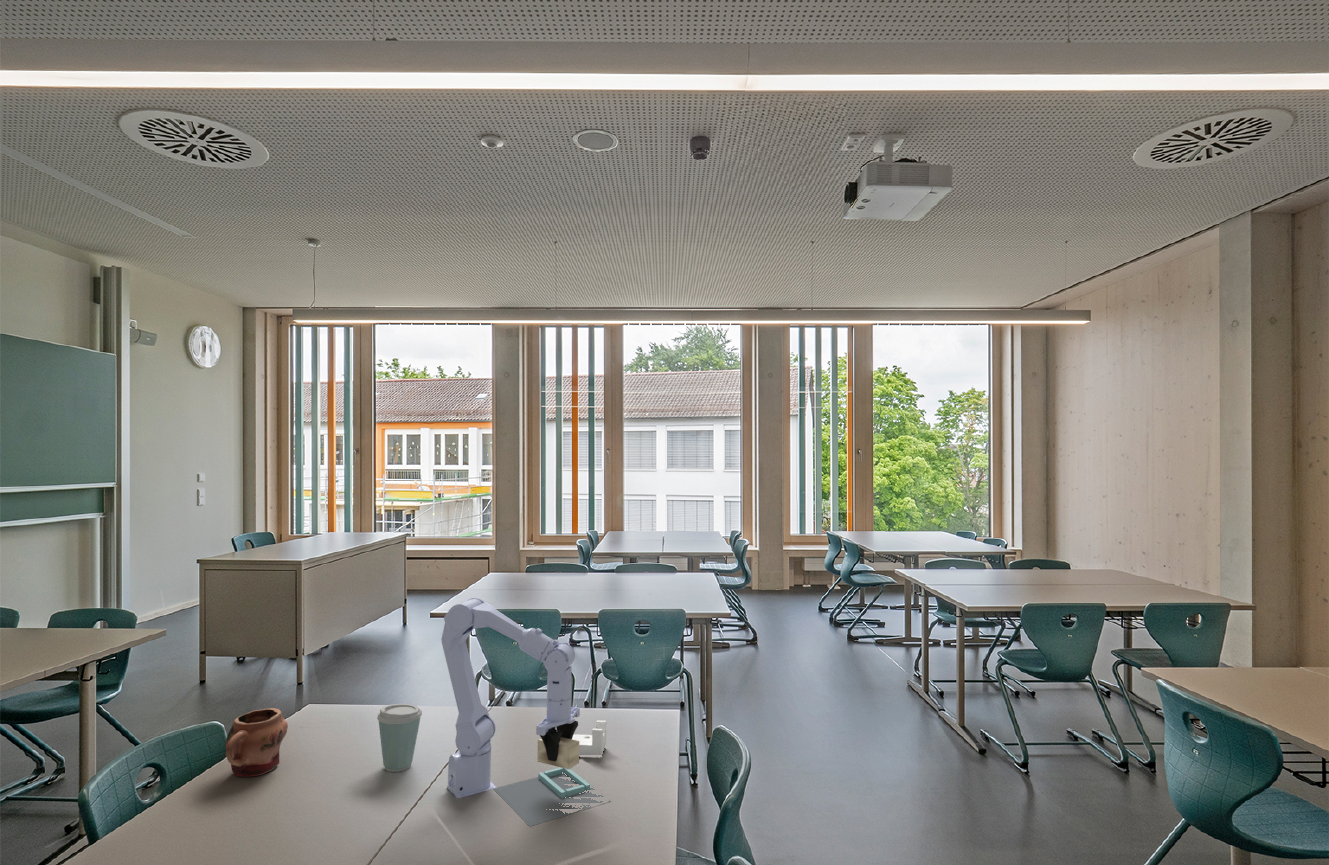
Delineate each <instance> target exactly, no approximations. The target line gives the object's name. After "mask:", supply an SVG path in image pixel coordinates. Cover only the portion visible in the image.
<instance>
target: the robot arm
mask: <svg viewBox="0 0 1329 865" xmlns="http://www.w3.org/2000/svg"><path fill="white" fill-rule="evenodd" d="M443 620H444V627H443V629H442V630H443V631H442V634H441V639H440V640H441V646H442V650H443V655H444V658H445V662H446V666H447V671H448V674H449V675H448V676H449V678H450V681H451V682H450V683H451V687H452V691H453V695H454V698H455V703H456V707H457V710H458V716H457V718H456V723H455V730H456V736H455V742H454V743H455V746H456V748H457V750H458V751H457V752H455V753H452V754H450V756H449V758H448V765H447V766H448V767H447V768H448V770H447V773H448V774H447V785H446V788H447V789H448V790H449V791H450V792H451V793H452V794H453V795H454V796H455V797H456V798H457V799H461V798H464V797H468V796H472V795H475V794H476V795H477V794H478V793H483V792H486V791H490V790H491V791H492V790H494V788H497V786H496V785H495V784H494V783H493V782H492V781H491V771H492V770H491V768H492V766H491V765H492V764H491V763H492V761H491V760H492V744H491V739H492V738H493V737H494V736H495V733H496V731H497V730H496V727H497V726H496V723H495V721H494V719H492V717H491V716H490V713H489V711H488V707H487V708H486V706H484V704H482V702H481V697H480V693H479V688H478V685H477V682H476V678H475V674H474V669H473V666H472V661H471V657H470V652H469V650H468V645H467V639H468V638H469V636H470V635H471V633H472V632H473V630H474V629H483V628H490V629H492V630H494V631H496V632H497V633H500V634H502V635H503V636H506V637H508V638H509V639H512V640H514V641H515V642H517V644H518V647H519V650H520V651H522V652H524V653H526V654H527V655H528V656H530V657H531V658H534V659H535V660H537V661H539V662H540V663H542V664H543V665H544V668H545V669H546V671H547V678H546V681H547V683H546V685H547V686H546V692H547V693H546V715H545V717H544V718H543V719H542V720H541V721H540V723H538V724H537V725H536V726H535V727H536V728H535V729H536V731H535V732H536V734H535V735H538V736H539V737H540V738H541V739H542V740H543V743H544V745H545V749H546V753H547V757H548V760H550V761H554V762H555V761H557V757H558V748H559V742H560V739H561V737H563V738H568V739H572V737H573V735H574V734H575V732H576V730H577V728H578V726H579V721H577V720H576V719H575V718H578V717H580V712H581V710H580V707H576V706H572V690H573V688H572V684H573V683H572V682H573V681H572V680H573V679H572V678H573V677H572V673H573V672H572V671H573V670H572V669H573V668H572V667H573V666H572V664H573V663H574V661H575V658H576V655H575V650H574V648H573V647H572V646H571V645H570V644H569V643H568V642H566V641H563V642H560V641H559V639H553V638H552V637H549V636H548V635H546V634H545V633H543V629H541V628H539V627H537V628H534V627H531V628H524V627H523V626H522V625H520V624H518V623H517V622H515V620H512V619H511V618H509V617H508V616H507V615H505V614H503V613H502V612H500V611H499V610H497V609H496V608H495V607H494V606H493V605H492V604H491V603H489V602H486V601H484V600H483V599H482V598H480V597H471V598H469V599H467V600H465V601H463V602H461V603H458V604H454V605H452V607H450V609H448V611H447V613H446V614H445V615H444V617H443Z"/></svg>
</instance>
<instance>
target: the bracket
mask: <svg viewBox="0 0 1329 865" xmlns="http://www.w3.org/2000/svg"><path fill="white" fill-rule="evenodd" d="M595 723H596V724H595V728H592V730H591V734H577V733H576V734H575V733H574V735H573V737H572V740H576V741H579V755H602V753H603V751H604V752H605V749H606V747H605V745H606V746H607V720H596V722H595ZM604 748H605V749H604Z"/></svg>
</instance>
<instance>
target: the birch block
mask: <svg viewBox="0 0 1329 865" xmlns="http://www.w3.org/2000/svg"><path fill="white" fill-rule="evenodd" d="M536 760H537V762H538V763H542V764H545V765H549V766H555V767H557V768H560V767H561V768H565V769H571V770H572V768H574V767H575V766H577V765H578V764H580V758H579V741H576V740H572V739H568V738H563V737H561V739H560V742H559V748H558V757H557V761H555V762H554V761H550V760H548V757H547V753H546V749H545V745H544V743H543V740H542V739H541V737H540V738H539V739H537V759H536Z"/></svg>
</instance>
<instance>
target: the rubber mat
mask: <svg viewBox="0 0 1329 865" xmlns="http://www.w3.org/2000/svg"><path fill="white" fill-rule="evenodd" d="M559 777H568V776H566V775H565V774H564V773H563V774H560V775H556V776H552V777H549V778H550V779H551V780H552V781H553V782H554V783H556V784H557V785H558V786H559V787H560V788H562V789H563V790H564V791H565V790H566V789H569V788H573V786H572V785H571V786H568V785H564V784H577V783H576V782H574V781H572V779H571V780H570V781H569V780H568V779H566V780H565V779H562V778H559ZM593 788H594V787H593ZM593 788H590V790H595V789H596V788H595V789H593ZM493 791H494V792H495V793H496V794H498V796H499V797H501V799H502V800H503V801H504V802H505V803H506V804H507V805H508V806H509V808H511V809H512V810H513V812H515V813H516V814H517V815H518V816H519V817H520V819H522V820H523V821H524V823H525V824H526V825H527V826H529V827H530V828H531V827H533V826H537V825H540V824H543V823H546V822H550V821H553V820H556V819H559V818H562V817H563V818H564V817H566V816H570V815H572V813H569V814H568V813H566V812H565V814H564V813H563V812H562V811H560V810H559V809H578V808H579V807H578V808H575V807H573V808H572V805H570V806H569V805H566V806H569V807H566V806H565V805H564V804H565V803H589V804H590V803H602V802H603V801H600V802H598V801H596V800H593V799H592V800H591V798H588V799H587V798H581V797H600V796H601V797H604V796H605V795H604V796H602V795H603V794H602V795H598V796H597V795H596V794H592V793H591V792H590V793H589V791H588V792H587V793H586V792H584V793H582V792H581V794H579V793H578V794H574V795H571V796H566V795H565V797H566V798H565V797H564V798H561V797H559V796H558V795H557V794H556V793H555V792H554V791H552V790H551V789H550V788H549V787H548V786H547V785H546V784H544V783H543V782H542V781H541V780H540V779H539V778H538V776H536V777H532V778H529V779H524V780H521V781H517V782H514V783H513V782H512V783H509V784H505V785H502V786H501V785H500V786H499V787H496V788H494V789H493ZM569 797H571V798H569ZM573 797H580V798H581V800H580V799H574V798H573ZM559 803H560V804H559ZM562 803H564V804H563V805H562ZM561 805H562V806H561ZM582 805H583V804H582ZM563 806H565V807H563ZM575 806H576V805H575ZM583 806H584V807H583V808H582V809H585V808H586V810H590V809H592V808H591V806H590V805H586V806H588V807H586V806H585V805H583ZM589 806H590V807H589ZM580 807H582V806H580ZM546 809H547V810H546ZM549 809H551V810H549ZM552 809H554V811H553V810H552ZM555 809H558V811H557V810H555ZM579 809H581V808H579Z"/></svg>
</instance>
